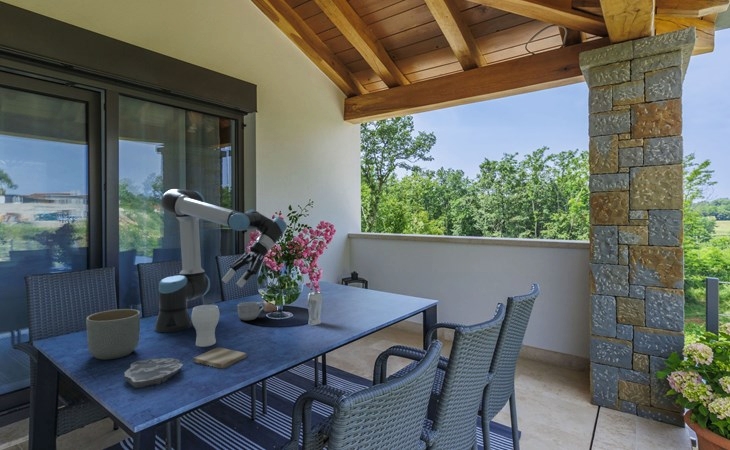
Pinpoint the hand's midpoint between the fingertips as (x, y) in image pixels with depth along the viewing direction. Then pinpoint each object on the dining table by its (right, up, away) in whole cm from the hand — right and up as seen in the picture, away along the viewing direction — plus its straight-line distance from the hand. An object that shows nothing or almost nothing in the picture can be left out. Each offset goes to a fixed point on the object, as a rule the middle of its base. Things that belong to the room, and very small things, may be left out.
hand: (231, 283), depth 165 cm
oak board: (+4, -24, -23) cm, 34 cm away
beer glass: (+33, -23, +23) cm, 46 cm away
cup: (-8, -24, -7) cm, 26 cm away
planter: (-37, -24, -20) cm, 49 cm away
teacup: (0, -23, +30) cm, 38 cm away
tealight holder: (+6, -22, +48) cm, 53 cm away
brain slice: (-12, -25, -37) cm, 47 cm away
